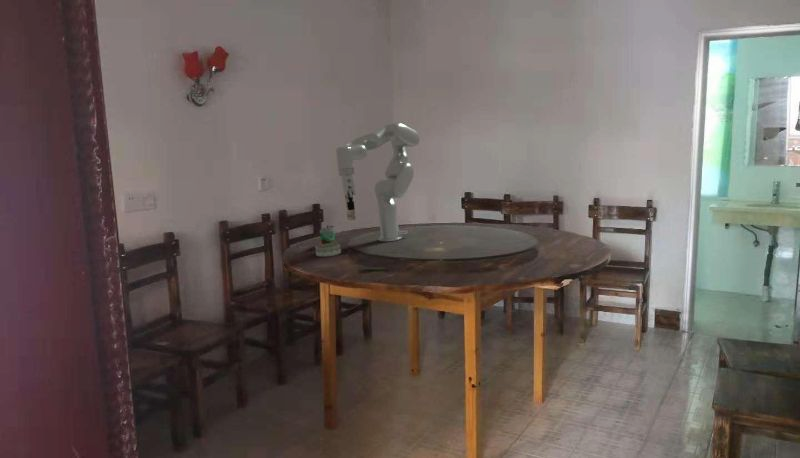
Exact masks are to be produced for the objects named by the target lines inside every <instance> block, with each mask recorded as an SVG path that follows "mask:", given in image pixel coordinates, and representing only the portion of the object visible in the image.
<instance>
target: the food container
mask: <svg viewBox="0 0 800 458" xmlns="http://www.w3.org/2000/svg"><path fill="white" fill-rule="evenodd" d="M335 232H336V228H335V226H334V225H329V224H328V225H326V227H325V228H321V229H319V234H320V240H321V245H322V244H328V243H336V242H335V241H336V240H335Z"/></svg>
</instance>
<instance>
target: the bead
mask: <svg viewBox="0 0 800 458" xmlns="http://www.w3.org/2000/svg"><path fill="white" fill-rule="evenodd" d="M341 247H342V246H341V243H337V242H335V243H328V244H322V243H321V244H318V245H316V246H315V247H314V248H315V255H316V256H317V257H332V256H336V255H340V254H341V253H342V248H341Z"/></svg>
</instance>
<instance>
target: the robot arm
mask: <svg viewBox="0 0 800 458" xmlns="http://www.w3.org/2000/svg"><path fill="white" fill-rule="evenodd" d="M389 141H390V143H391V147H392V152H393V153H392V157H391V159H390V161H389V163H388V165H387V167H386V169H385V172H384V176H385V179H381V180H378V181H377V182H376V183H375V184H374V188H373V189H374V193H375V194H374V195H375V198H376V200H377V201H376V202H377V207H378V217H379V218H378V219H379V228H380V236H379V237H378V238H377V239H378V241H379V242H394V241H395V242H396V241H400V240H402V239H403V235H408V234H409V231H408V229H407V230H400V229H399V220H398V209H397V208H398V207H397V203H396V201H395V199H400V198H403V197H404V196H405V194H406V193H407V191H408V190H409V187H410V185H411V183H412V180H413V178H414V176H415V170H414V166H413V165H412V164H411V163H408V161H409V154H408V153H407V150H406V148H414V147H416V146H417V145H419V143H420V135H419V133H418V131H416V130H415V129H413V128H411V127H409V126H407V125H406V124H403V123H401V122H393V123H391V122H390V123H384V124H382V125H380V126H378V127H377V128H376V129H374V130H373V131H371V132H369V133H367V134H364V135H362V136H359V137H358V138H355V139H353V140H350V141H349V142H347V143H345V144H344V145H343V146H337V147H336V149H335V154H336V162H337V170H338V176H339V177H341V186H342V187H341V188H342V193H343V195H344V196H345V195H346V196H347V200H348V202H347V205H348V210H354V209H355V210H356V208H355V201H354V200H353V199H354V196H356V194H357V193H356V185H355V180H354V179H355V178H354V175H355V168H354V167H355V166H354V161H360V160H363V159H365V158H366V157H367V156H368V155H367V154H368V151H373V150H377V149H378V148H380V147H382V146H383V145H384V144H386V143H389ZM352 192H353V193H352ZM348 194H349V195H348Z"/></svg>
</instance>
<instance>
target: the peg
mask: <svg viewBox="0 0 800 458" xmlns="http://www.w3.org/2000/svg"><path fill="white" fill-rule="evenodd" d="M352 193H353V192H352ZM348 195H349V194H348ZM344 200H345V209H346V219H347V221H355V220H356V219H357V218H356V211H355V210H356V208H355V209H354V210H348V205H347V202H348V200H347V196H346V195H344ZM353 200H354V198H353Z"/></svg>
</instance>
